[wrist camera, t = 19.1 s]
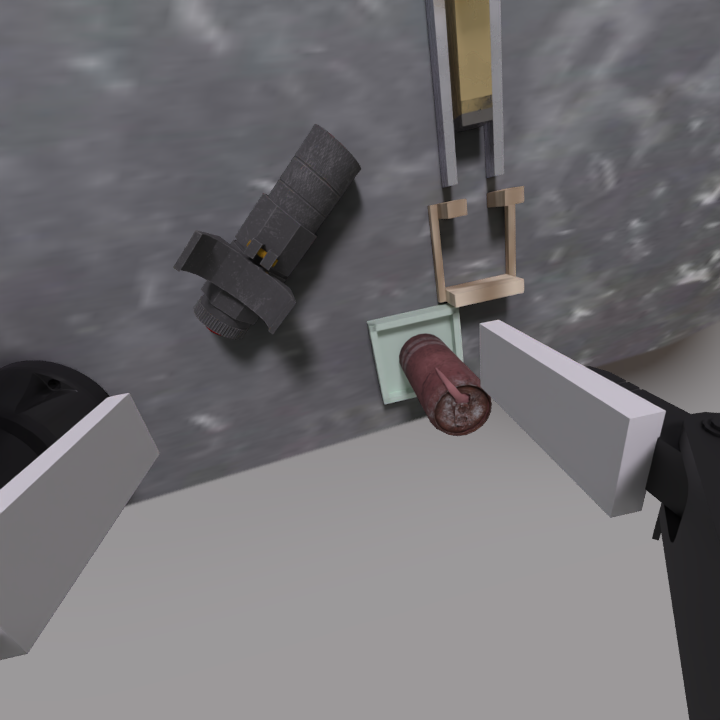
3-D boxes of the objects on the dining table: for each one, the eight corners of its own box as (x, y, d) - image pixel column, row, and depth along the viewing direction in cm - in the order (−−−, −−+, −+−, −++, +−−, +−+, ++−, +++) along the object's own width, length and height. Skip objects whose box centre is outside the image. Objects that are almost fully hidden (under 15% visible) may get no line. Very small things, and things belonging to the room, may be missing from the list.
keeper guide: (442, 187, 37) (448, 186, 35) (422, -38, 30) (428, -54, 28) (494, 176, 37) (504, 173, 35) (487, -51, 30) (499, -69, 28)
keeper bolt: (451, 133, 35) (486, 110, 27) (436, -70, 29) (475, -168, 21) (479, 127, 35) (521, 103, 28) (470, -77, 29) (520, -178, 22)
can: (425, 320, 41) (472, 366, 29) (453, 356, 44) (507, 412, 31) (387, 351, 43) (415, 408, 30) (416, 384, 45) (454, 450, 32)
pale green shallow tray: (381, 396, 46) (384, 404, 44) (366, 321, 42) (369, 326, 40) (459, 378, 46) (465, 385, 44) (452, 302, 42) (458, 306, 40)
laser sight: (372, 187, 36) (389, 177, 27) (257, 343, 42) (239, 379, 32) (297, 117, 33) (288, 78, 24) (184, 296, 39) (141, 320, 29)
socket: (437, 301, 42) (449, 309, 38) (427, 206, 37) (439, 204, 34) (512, 284, 42) (530, 290, 38) (511, 187, 37) (531, 184, 34)
